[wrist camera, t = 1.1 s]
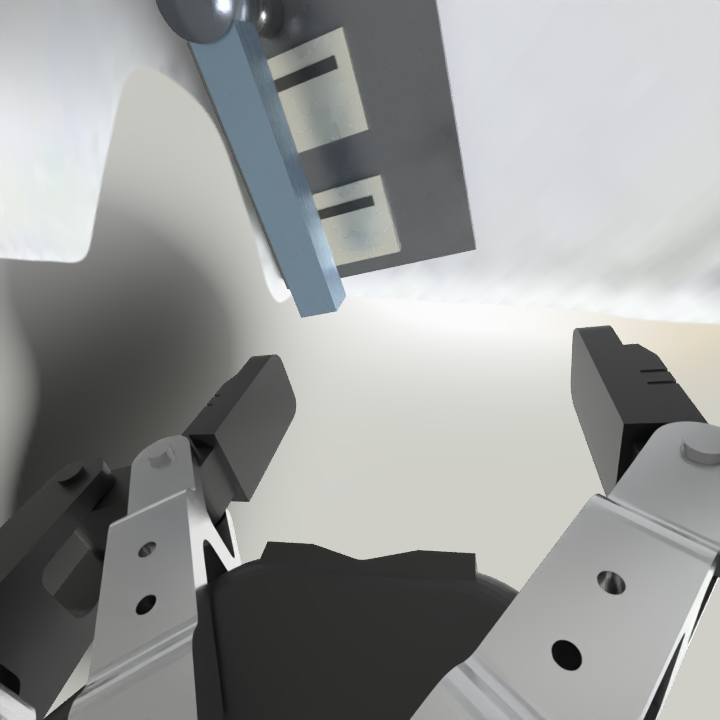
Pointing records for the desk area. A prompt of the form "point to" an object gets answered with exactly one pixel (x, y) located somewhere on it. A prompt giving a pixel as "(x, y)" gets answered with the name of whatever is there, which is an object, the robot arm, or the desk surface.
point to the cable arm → (261, 141)
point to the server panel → (370, 126)
